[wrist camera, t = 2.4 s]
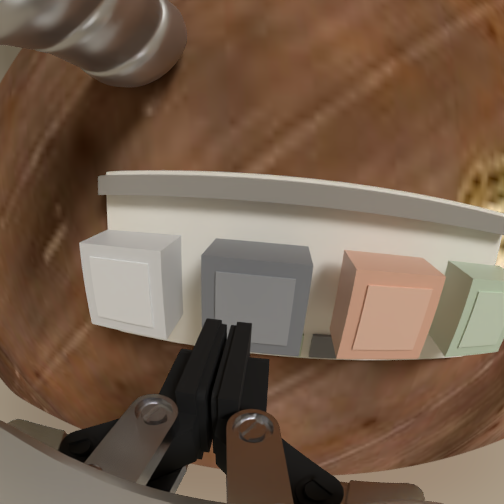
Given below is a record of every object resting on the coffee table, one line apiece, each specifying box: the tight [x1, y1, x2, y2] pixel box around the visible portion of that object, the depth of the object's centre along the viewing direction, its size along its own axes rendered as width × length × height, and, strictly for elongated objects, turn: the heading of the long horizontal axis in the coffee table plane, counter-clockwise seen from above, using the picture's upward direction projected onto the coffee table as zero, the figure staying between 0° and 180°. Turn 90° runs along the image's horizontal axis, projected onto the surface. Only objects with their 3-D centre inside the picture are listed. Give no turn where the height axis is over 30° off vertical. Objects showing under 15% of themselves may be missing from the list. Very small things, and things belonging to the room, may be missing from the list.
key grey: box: [79, 230, 183, 340], centre depth 16 cm, size 5×5×3 cm
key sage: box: [428, 260, 504, 357], centre depth 14 cm, size 5×5×3 cm
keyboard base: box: [98, 170, 504, 360], centre depth 18 cm, size 28×12×2 cm, turn 86°
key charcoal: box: [201, 238, 313, 357], centre depth 15 cm, size 5×5×3 cm
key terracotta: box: [330, 250, 446, 359], centre depth 14 cm, size 5×5×3 cm
